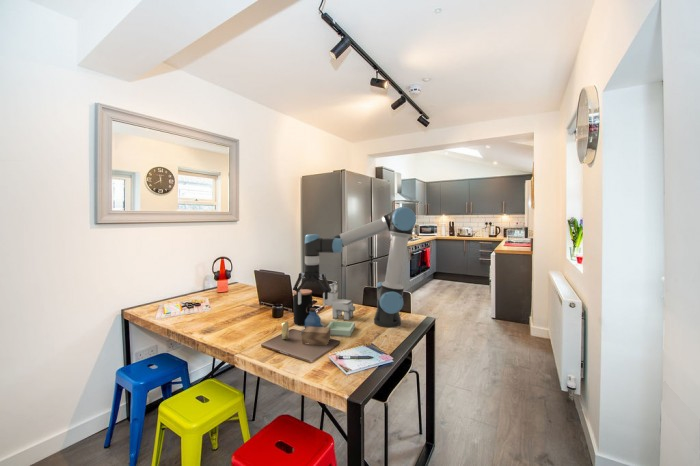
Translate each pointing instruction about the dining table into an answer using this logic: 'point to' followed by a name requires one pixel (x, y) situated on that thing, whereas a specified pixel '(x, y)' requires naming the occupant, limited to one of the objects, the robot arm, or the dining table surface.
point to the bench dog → (285, 330)
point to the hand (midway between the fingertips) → (312, 304)
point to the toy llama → (339, 304)
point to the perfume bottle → (313, 319)
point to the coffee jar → (302, 306)
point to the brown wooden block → (316, 335)
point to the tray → (341, 328)
